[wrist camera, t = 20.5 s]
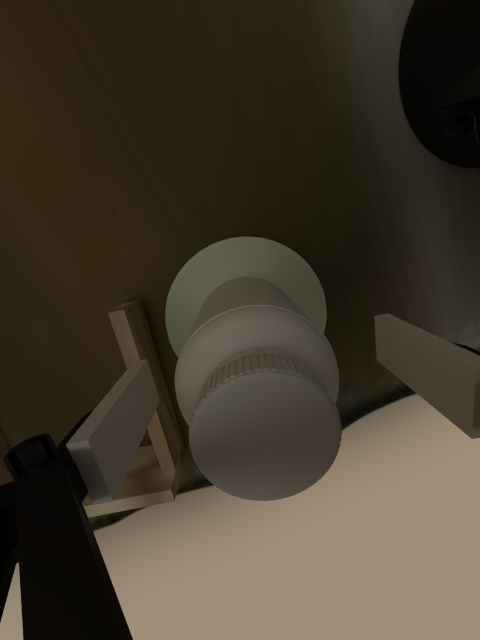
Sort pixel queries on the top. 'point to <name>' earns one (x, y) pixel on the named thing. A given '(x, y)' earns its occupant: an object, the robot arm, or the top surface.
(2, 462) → the oak stall
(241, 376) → the pill bottle
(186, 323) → the sage coaster
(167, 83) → the top surface
